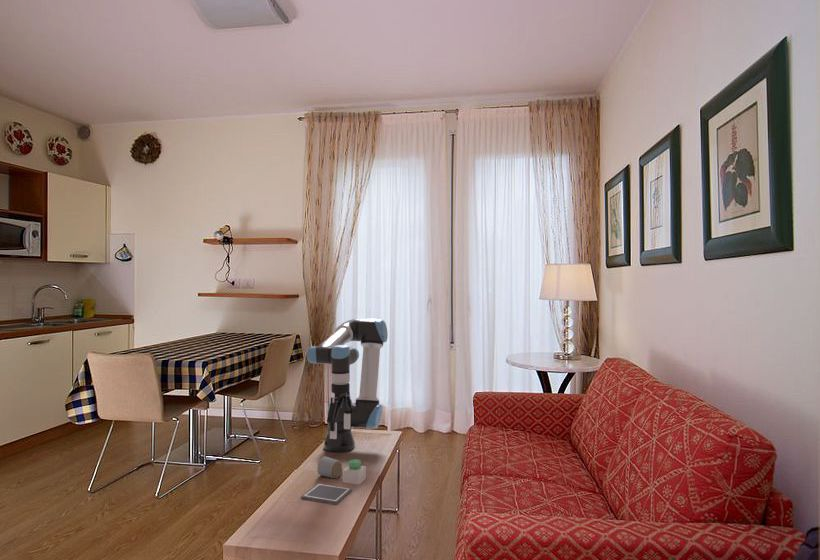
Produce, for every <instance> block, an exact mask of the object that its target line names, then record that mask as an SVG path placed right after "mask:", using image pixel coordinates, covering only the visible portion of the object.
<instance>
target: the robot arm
mask: <svg viewBox="0 0 820 560" xmlns="http://www.w3.org/2000/svg"><path fill="white" fill-rule="evenodd" d="M388 334H389V333H388V327H387V324H386V322H385V320H384V319H379V318H353V319H350V320H346V321H344V322H342V323H341V324H340V325H338V326H337V327H336V328H335V331H334V332H333V333H332V334H331V335H330V336H328V338H326V339H325V340H324V341H323V342H321V343H320V344H319V345H317V346H316V345H314V346H313V345H312V346H309V348H308V349H307V351H306V359H307V362H308V363H310V364H316V365H318V364H319V365H320V364H321V365H331V374H330V377H331V388H330V390H331V393H332V394H334V397H330V402H329V403H328V406H327V418H326V423H327V433H326V435H325V436H326V437H325V438H324V439H325V440H324V442H323V449H324V450H326V451H327V452H330V453H342V452H343V453H344V452H348V451H351V450H353V449H355V447H356V444H355V443H356V442H355V438H354V435H353V432H352V428H357V429H358V428H360V429H375V428H377V427H378V426H380V423H381V420H382V416H383V405H382V404H381V403H380V399H379V398H378V396H377V393H378V383H379V382H378V381H379V368H380V367H379V366H380V364H379V363H380V356H381V355H380V354H381V349H382V348H383V347H384V343H386V342H387V341H388ZM350 342H360V346H361V347H362V349H363V350H362V359H361V360H362V361H361V373H360V383H359V392H358V393H359V394H358V397H356V399H355V402H353V400H352V399H351V393H350V392H351V391H350V381H351V380H350V379H351V378H350V377H351V376H350V368H351V367H350V365H353V364H355V363H356V362H357V361H358V360H359V357H360V352H359V350H358V349H357V347H355V346H353V345H352V346H349V345H345V344H348V343H350Z"/></svg>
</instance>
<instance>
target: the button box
mask: <svg viewBox="0 0 820 560" xmlns="http://www.w3.org/2000/svg"><path fill="white" fill-rule="evenodd" d="M366 479H367V466H366V465H361V467H359V468H349V465H348V466H347V467H345V468H343V471H342V483H344V482H345V483H346V484H350V485H351V484H352V485H358V486H359V485H360V484H361V483H362V482H363V481H365V480H366Z"/></svg>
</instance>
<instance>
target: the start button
mask: <svg viewBox="0 0 820 560" xmlns="http://www.w3.org/2000/svg"><path fill="white" fill-rule="evenodd" d="M348 466H349V468H359V467H361V466H362V461H361V459H358V458H357V459H356V458H354V459H350V460H348Z"/></svg>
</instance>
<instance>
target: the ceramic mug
mask: <svg viewBox="0 0 820 560" xmlns="http://www.w3.org/2000/svg"><path fill="white" fill-rule="evenodd" d="M342 465H343V464H342V462H341V461H340V460H339V459H335V458H332V457H329V456H322V457H321V458H320V459H319V461H318V464H317V474H318V475H320V476H322V477H326V478H330V479H337V478H338V477H339V476H340V475H341V473H343V470H344V468H343V466H342Z"/></svg>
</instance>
